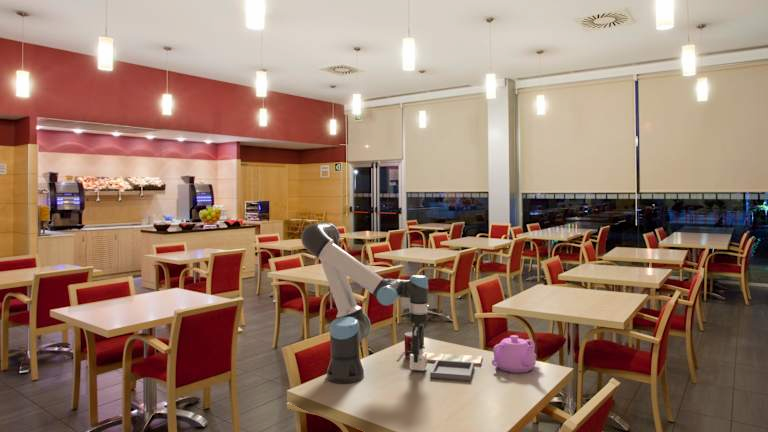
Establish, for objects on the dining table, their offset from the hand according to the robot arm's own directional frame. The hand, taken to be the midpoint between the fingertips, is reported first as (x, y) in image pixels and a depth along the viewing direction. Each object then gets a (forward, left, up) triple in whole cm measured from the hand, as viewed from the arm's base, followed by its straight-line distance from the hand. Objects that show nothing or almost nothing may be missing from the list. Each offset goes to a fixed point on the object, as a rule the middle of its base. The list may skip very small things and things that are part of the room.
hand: (417, 366), depth 217 cm
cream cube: (0, 0, -1) cm, 0 cm away
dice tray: (+15, 0, -2) cm, 15 cm away
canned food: (-5, +16, -2) cm, 17 cm away
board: (+7, +16, -2) cm, 17 cm away
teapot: (+41, +10, -2) cm, 42 cm away
